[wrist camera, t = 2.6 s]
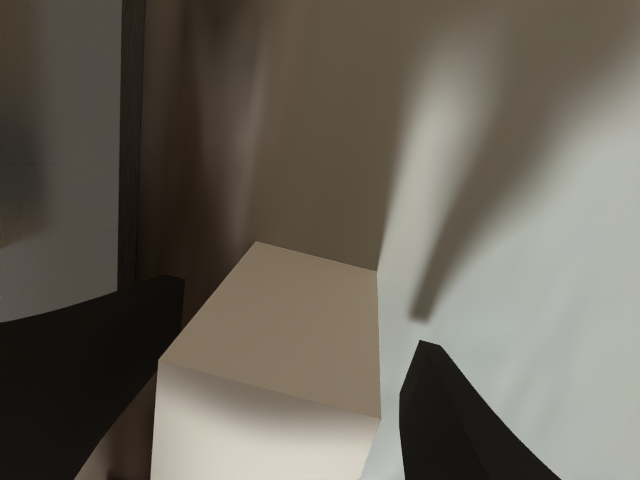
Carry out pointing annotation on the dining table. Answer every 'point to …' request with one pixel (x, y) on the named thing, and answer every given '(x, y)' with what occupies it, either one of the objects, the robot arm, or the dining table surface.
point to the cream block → (273, 375)
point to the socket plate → (68, 151)
